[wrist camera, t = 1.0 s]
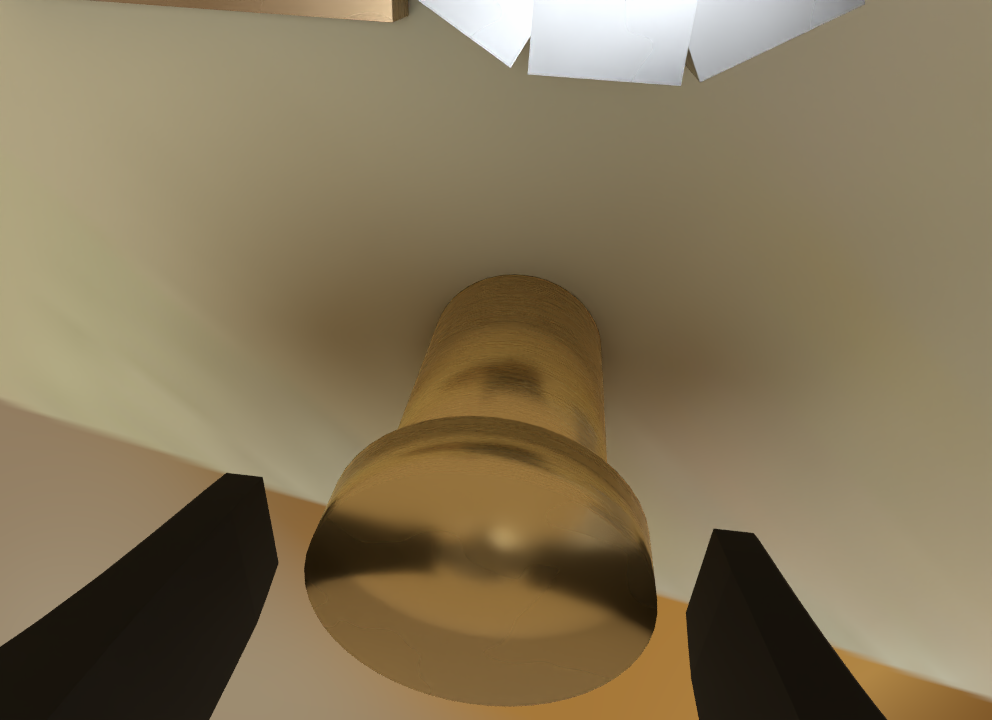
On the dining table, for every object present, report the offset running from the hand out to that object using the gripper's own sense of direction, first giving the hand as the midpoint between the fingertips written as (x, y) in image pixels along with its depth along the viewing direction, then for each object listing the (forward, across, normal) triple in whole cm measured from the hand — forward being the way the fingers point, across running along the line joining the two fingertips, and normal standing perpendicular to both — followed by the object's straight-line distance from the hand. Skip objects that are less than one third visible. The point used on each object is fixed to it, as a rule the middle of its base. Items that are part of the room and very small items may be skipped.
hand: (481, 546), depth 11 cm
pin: (+6, 0, 0) cm, 6 cm away
